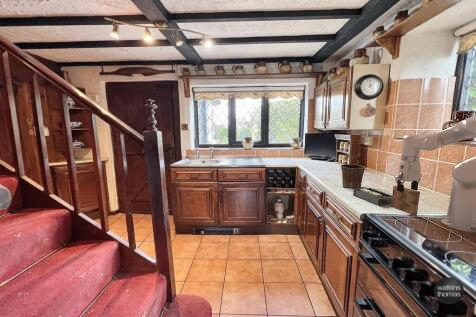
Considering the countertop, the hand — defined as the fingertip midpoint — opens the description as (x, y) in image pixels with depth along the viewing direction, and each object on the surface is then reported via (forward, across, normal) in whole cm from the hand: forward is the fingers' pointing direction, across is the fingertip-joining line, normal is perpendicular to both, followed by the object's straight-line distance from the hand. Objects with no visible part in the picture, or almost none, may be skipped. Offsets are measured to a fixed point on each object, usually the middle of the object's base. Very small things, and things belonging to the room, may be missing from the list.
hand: (407, 190), depth 118 cm
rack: (+12, -1, +19) cm, 22 cm away
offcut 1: (+10, -4, +22) cm, 25 cm away
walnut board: (+12, 0, +1) cm, 12 cm away
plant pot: (+11, +7, +46) cm, 48 cm away
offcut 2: (+11, -4, +16) cm, 19 cm away
